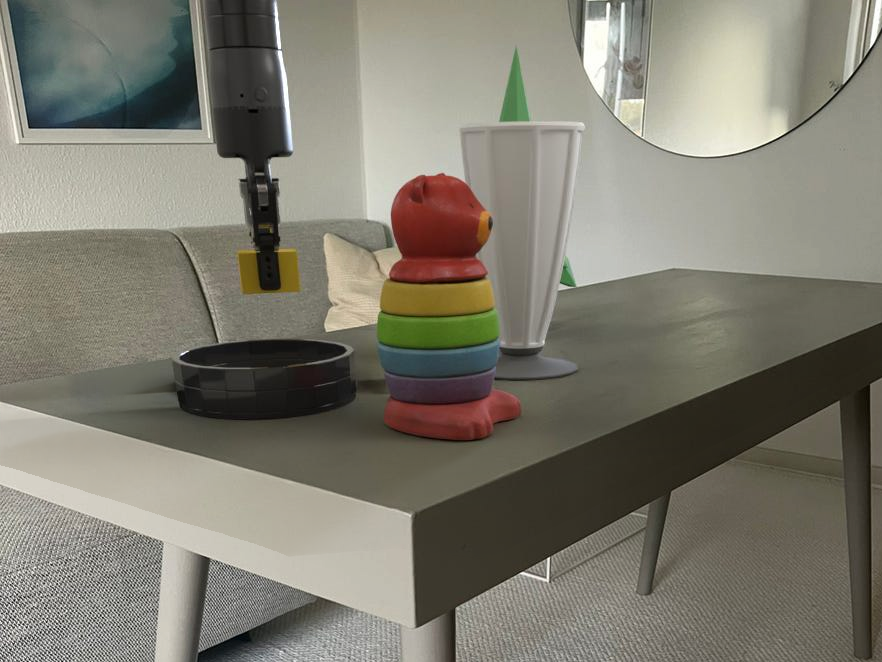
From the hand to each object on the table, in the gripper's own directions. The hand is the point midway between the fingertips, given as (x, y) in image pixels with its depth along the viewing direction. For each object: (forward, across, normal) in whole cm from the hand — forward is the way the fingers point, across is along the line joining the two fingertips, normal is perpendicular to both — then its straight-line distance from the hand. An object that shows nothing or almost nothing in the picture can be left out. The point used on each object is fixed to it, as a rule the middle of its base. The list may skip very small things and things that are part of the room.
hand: (269, 286), depth 105 cm
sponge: (0, 0, 0) cm, 0 cm away
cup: (+7, +17, +23) cm, 29 cm away
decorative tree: (+7, -6, +29) cm, 30 cm away
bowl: (+7, +24, -2) cm, 25 cm away
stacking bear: (+7, +37, +11) cm, 39 cm away
